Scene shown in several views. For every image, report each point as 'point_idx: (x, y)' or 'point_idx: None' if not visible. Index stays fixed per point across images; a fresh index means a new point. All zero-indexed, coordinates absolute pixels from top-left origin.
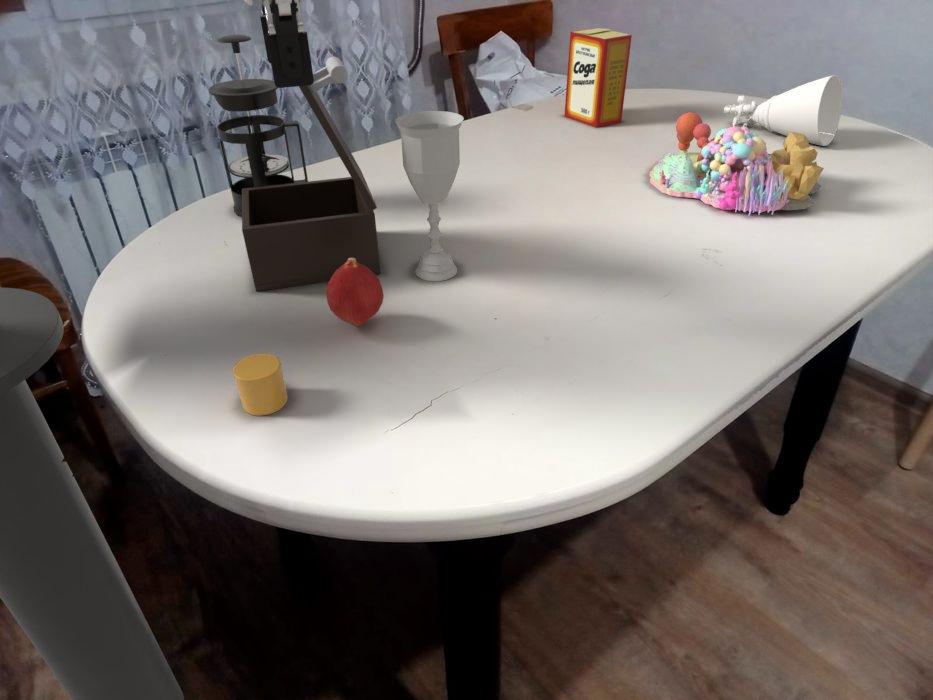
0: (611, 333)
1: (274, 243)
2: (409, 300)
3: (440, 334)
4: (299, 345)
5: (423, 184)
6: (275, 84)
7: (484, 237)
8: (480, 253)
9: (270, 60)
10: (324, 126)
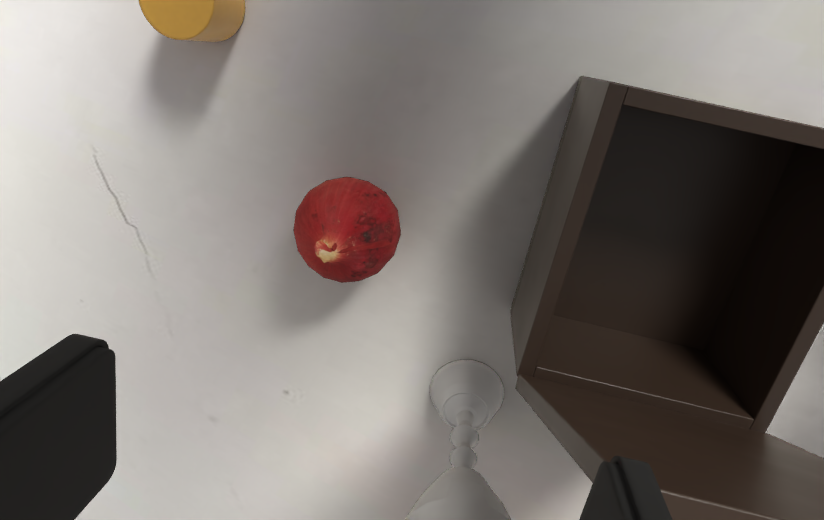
0: (194, 485)
1: (579, 147)
2: (396, 313)
3: (280, 309)
4: (344, 101)
5: (423, 495)
6: (74, 336)
7: (538, 511)
8: (486, 476)
9: (2, 393)
10: (570, 434)
